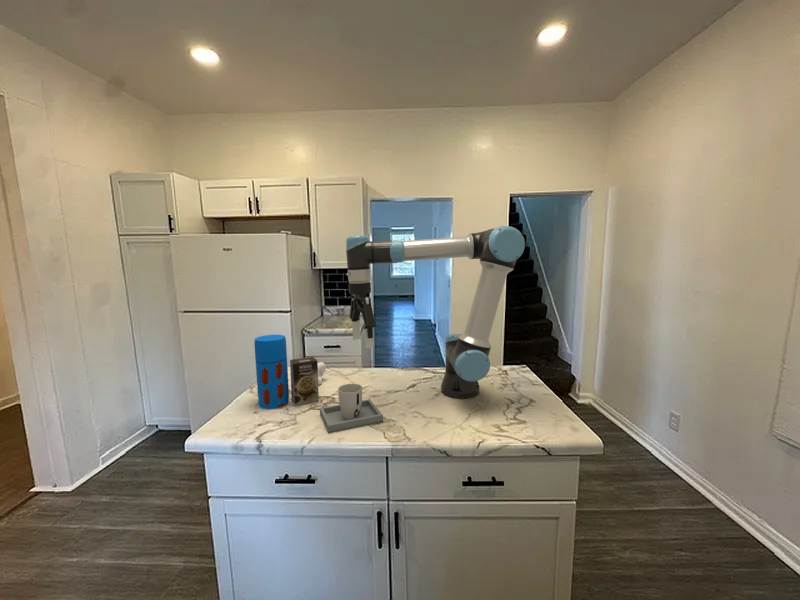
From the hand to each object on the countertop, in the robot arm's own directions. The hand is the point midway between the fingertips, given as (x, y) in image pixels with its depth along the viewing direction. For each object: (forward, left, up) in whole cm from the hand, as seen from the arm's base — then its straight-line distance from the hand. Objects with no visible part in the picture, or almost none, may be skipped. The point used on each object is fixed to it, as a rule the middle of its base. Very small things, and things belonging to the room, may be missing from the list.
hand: (363, 343), depth 123 cm
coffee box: (+18, -16, -24) cm, 34 cm away
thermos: (+29, -19, -24) cm, 43 cm away
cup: (+6, +5, -24) cm, 25 cm away
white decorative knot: (+13, -35, -24) cm, 45 cm away
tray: (+6, +5, -24) cm, 25 cm away
